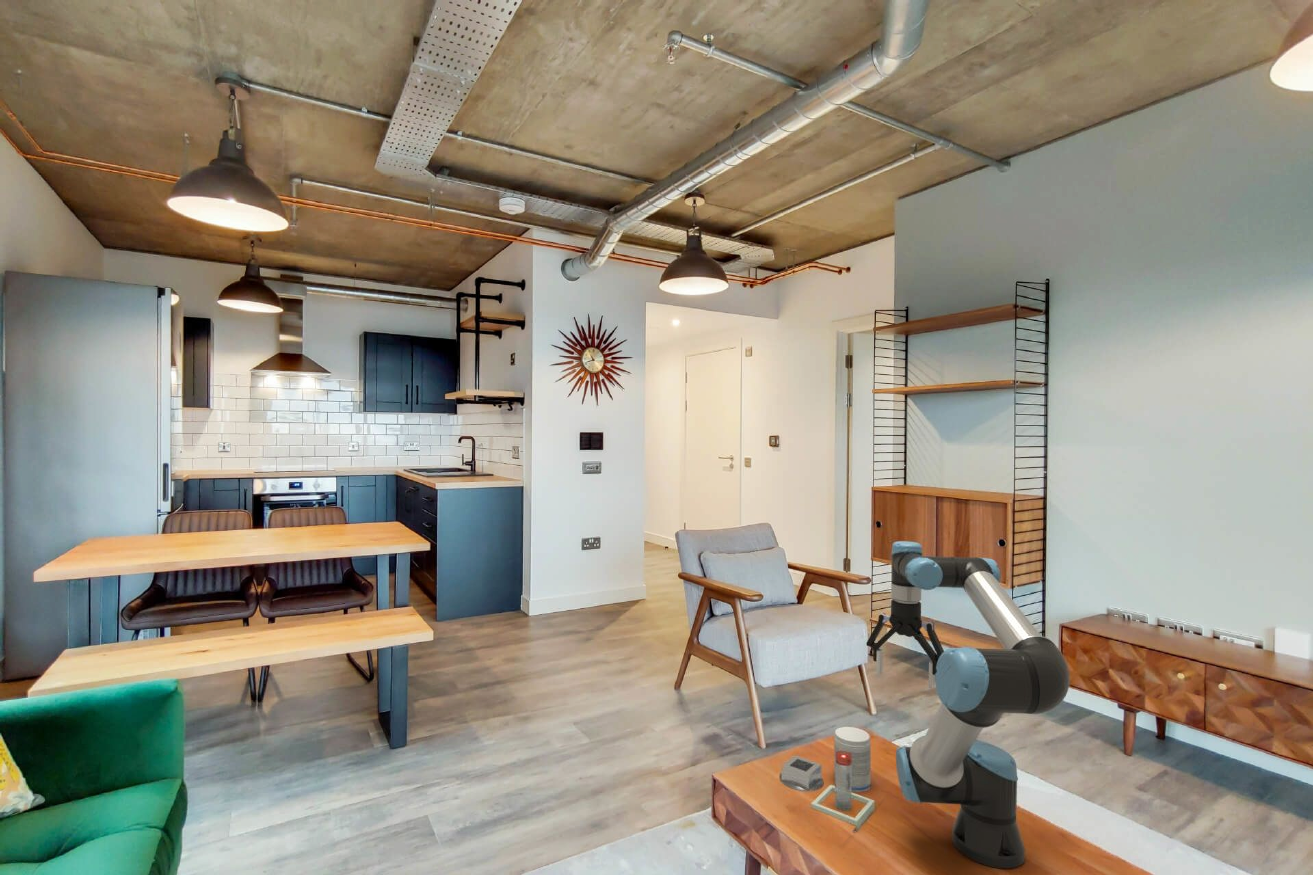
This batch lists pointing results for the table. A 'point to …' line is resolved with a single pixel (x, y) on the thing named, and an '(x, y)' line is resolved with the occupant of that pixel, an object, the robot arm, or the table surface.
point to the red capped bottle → (843, 780)
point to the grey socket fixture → (801, 774)
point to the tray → (857, 821)
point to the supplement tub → (856, 754)
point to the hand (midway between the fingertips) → (904, 680)
